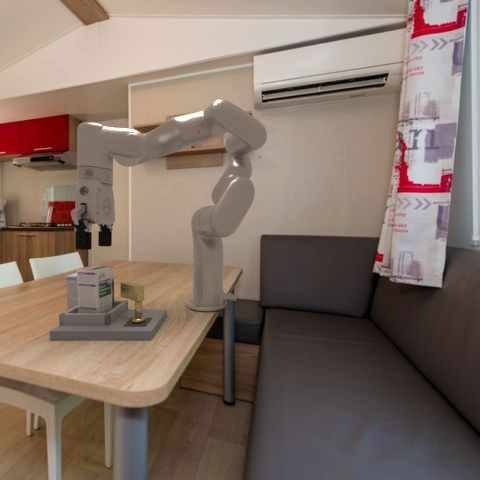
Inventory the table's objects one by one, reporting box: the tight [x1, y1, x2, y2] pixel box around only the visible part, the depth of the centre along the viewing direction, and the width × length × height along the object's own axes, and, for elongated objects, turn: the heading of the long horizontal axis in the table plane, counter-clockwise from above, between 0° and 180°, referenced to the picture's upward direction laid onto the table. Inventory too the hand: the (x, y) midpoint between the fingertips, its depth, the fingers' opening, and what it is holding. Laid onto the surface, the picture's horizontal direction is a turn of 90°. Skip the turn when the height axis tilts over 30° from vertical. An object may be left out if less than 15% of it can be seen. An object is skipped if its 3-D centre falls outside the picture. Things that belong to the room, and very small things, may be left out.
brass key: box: [120, 281, 146, 323], centre depth 60 cm, size 3×8×8 cm, turn 57°
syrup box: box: [76, 265, 115, 313], centre depth 61 cm, size 6×6×14 cm
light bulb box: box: [65, 272, 78, 311], centre depth 74 cm, size 11×7×11 cm, turn 4°
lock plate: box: [49, 299, 168, 341], centre depth 60 cm, size 22×14×4 cm, turn 93°
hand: (95, 247), depth 60 cm, fingers open, 9 cm apart
